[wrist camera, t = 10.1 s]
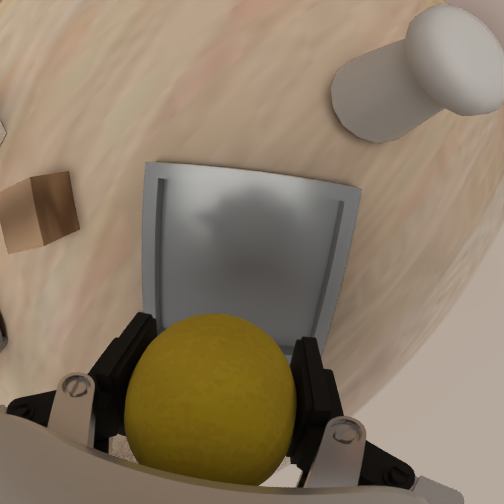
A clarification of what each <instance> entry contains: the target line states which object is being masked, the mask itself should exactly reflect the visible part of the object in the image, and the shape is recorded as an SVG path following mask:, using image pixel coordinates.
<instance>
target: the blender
mask: <svg viewBox="0 0 504 504" xmlns="http://www.w3.org/2000/svg"><path fill="white" fill-rule="evenodd" d="M6 344H7V338H6V337H5V336H4V337H2V334H1V330H0V352H1V351H2V350H3V348H4V347H5V346H6Z"/></svg>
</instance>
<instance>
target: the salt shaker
mask: <svg viewBox="0 0 504 504" xmlns="http://www.w3.org/2000/svg"><path fill="white" fill-rule="evenodd" d="M330 91H331V98H332V105H333V109H334V111H335V113H336V114H337V116H338V118H339V120H340V122H341V124H342V125H343V126H344V127H345V128H347V129H348V130H349V131H351V132H352V133H353V134H355V135H356V136H357V137H359V138H362V139H365V140H369V141H373V142H376V143H379V144H380V143H384V142H388V141H393V140H397V139H398V138H400V137H401V136H403V135H404V134H406V133H408V132H409V131H411V130H412V129H414V128H415V127H417V126H418V125H420V124H421V123H423V122H424V121H426V120H428V119H429V118H431V117H432V116H434V115H435V114H437V113H438V112H440V111H441V110H443V109H445V108H446V109H448V110H450V111H452V112H454V113H456V114H458V115H461V116H473V115H481V114H489V113H491V112H493V111H496V110H498V109H499V108H500V107H501V105H502V104H503V103H504V52H503V50H502V48H501V46H500V44H499V42H498V41H497V39H496V37H495V36H494V35H493V34H492V32H490V30H489V29H488V28H487V27H486V26H485V25H484V24H483V22H482V21H480V20H479V19H477V18H475V17H474V16H473V15H471V14H469V13H468V12H466V11H464V10H462V9H460V8H459V7H456V6H451V5H444V4H437V5H434V6H432V7H429V8H428V9H426V10H425V11H423V12H421V13H420V14H418V15H417V16H416V17H415V18H414V19H413V20H412V21H411V22H410V23H409V27H408V30H407V33H406V37H405V39H403V40H400V41H397V42H394V43H392V44H389V45H386V46H384V47H381V48H379V49H376V50H374V51H371V52H369V53H366V54H364V55H361V56H359V57H357V58H354V59H352V60H350V61H349V62H348V63H346V64H345V65H344V66H343V67H341V68H340V69H339V70H338V71H337V73H336V76H335V78H334V80H333V83H332V85H331V88H330Z"/></svg>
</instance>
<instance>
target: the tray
mask: <svg viewBox="0 0 504 504" xmlns="http://www.w3.org/2000/svg"><path fill="white" fill-rule="evenodd" d="M361 190H362V189H360V188H357V187H354V186H350V185H345V184H340V183H334V182H329V181H323V180H317V179H311V178H305V177H299V176H292V175H285V174H278V173H271V172H264V171H256V170H248V169H239V168H230V167H220V166H209V165H198V164H185V163H170V162H145V175H144V190H143V210H142V291H143V312H144V313H147V314H151V315H152V316H153V318H155V319H156V322H157V336H158V335H160V334H161V333H162V332H164V331H165V330H166V329H167V328H169V327H170V326H171V325H173V324H174V323H177V322H179V321H182V320H184V319H186V318H189V317H191V316H195V315H202V314H209V313H216V314H228V315H232V316H235V317H239V318H242V319H245V320H247V321H249V322H250V323H252V324H254V325H256V326H258V327H260V328H261V329H262V330H263V331H264V332H266V333H267V334H268V335H269V336H270V337H271V338H273V340H274V341H275V342H276V343H277V345H278V346H279V348H280V349H281V351H282V352H283V354H284V355H285V357H286V359H287V361H288V363H289V365H290V363H291V359H292V355H293V351H294V347H295V343H296V340H297V339H299V340H301V338H302V336H305V337H315V338H316V339H317V343H318V347H319V351H320V356H321V355H322V352H323V349H324V346H325V343H326V339H327V336H328V333H329V329H330V326H331V322H332V319H333V315H334V312H335V308H336V304H337V301H338V297H339V293H340V289H341V285H342V281H343V277H344V273H345V269H346V265H347V260H348V256H349V251H350V247H351V242H352V237H353V233H354V228H355V223H356V218H357V212H358V207H359V201H360V196H361Z"/></svg>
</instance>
